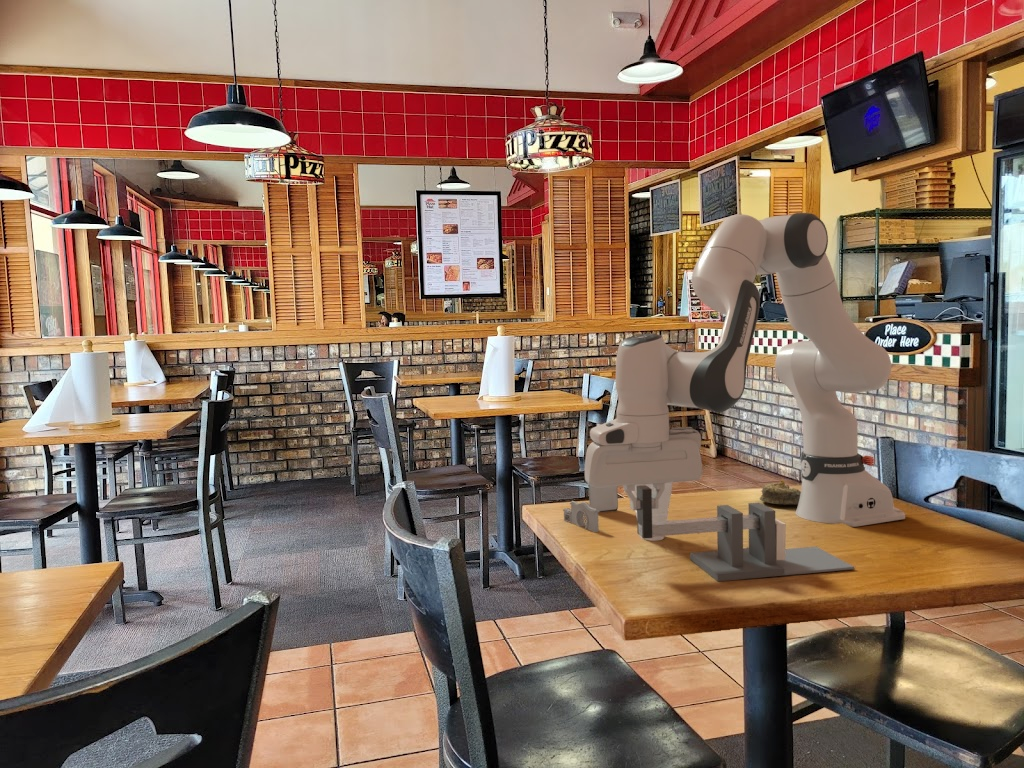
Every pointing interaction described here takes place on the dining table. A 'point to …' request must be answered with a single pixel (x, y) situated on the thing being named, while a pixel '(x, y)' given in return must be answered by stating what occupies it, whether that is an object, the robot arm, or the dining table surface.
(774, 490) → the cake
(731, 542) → the bearing stand
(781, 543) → the block
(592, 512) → the grey toothed piece
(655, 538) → the cup
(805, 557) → the mat
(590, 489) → the smartphone
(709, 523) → the shaft
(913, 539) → the dining table surface
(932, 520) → the dining table surface
